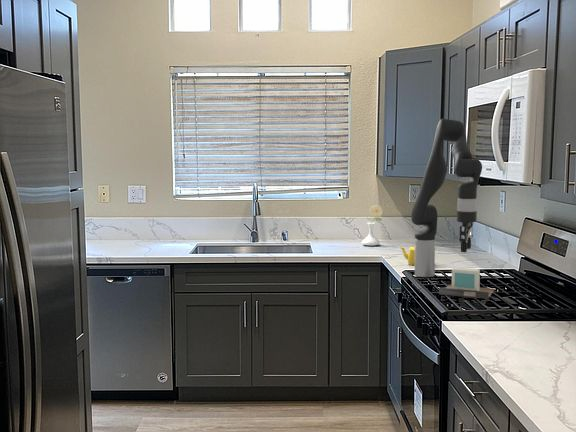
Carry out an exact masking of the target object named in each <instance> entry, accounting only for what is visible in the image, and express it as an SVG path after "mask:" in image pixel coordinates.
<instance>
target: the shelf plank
mask: <svg viewBox="0 0 576 432" xmlns="http://www.w3.org/2000/svg"><path fill="white" fill-rule="evenodd" d="M495 290H496V288H491V287H490V288H489V287H479V291H473V290H462V289H452V284H448V285H447V286H445V287H438V295H444V296H452V297H464V298H465V297H466V298H476V299H484V300H485V299H486V300H487V299H488V300H489V299H490V297H491V296H492V294H493V292H494V291H495Z"/></svg>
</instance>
